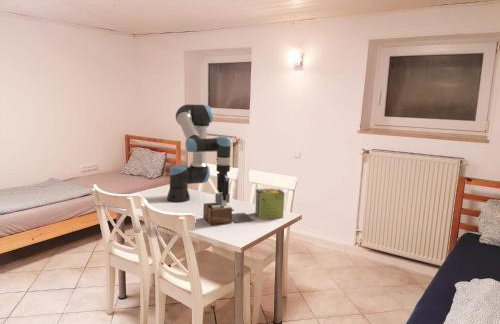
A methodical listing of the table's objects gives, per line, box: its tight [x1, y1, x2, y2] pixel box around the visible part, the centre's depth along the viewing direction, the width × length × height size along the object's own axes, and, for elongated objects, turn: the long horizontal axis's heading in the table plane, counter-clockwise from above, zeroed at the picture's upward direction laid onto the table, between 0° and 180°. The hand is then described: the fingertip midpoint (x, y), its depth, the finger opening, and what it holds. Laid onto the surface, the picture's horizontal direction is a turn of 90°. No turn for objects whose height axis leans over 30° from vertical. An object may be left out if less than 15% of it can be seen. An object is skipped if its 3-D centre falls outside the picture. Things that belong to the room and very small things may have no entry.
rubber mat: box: [232, 212, 255, 224], centre depth 208 cm, size 15×12×1 cm
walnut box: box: [202, 202, 233, 227], centre depth 201 cm, size 14×12×9 cm
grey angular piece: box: [211, 192, 235, 212], centre depth 201 cm, size 11×10×9 cm
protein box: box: [254, 188, 285, 219], centre depth 213 cm, size 10×15×16 cm
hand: (222, 204), depth 201 cm, fingers closed on grey angular piece, 4 cm apart
